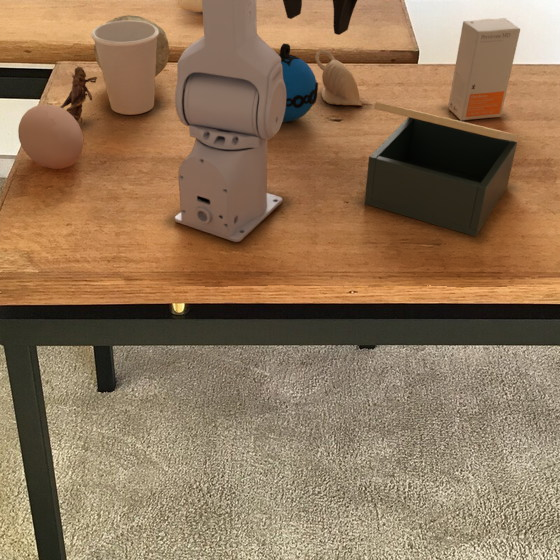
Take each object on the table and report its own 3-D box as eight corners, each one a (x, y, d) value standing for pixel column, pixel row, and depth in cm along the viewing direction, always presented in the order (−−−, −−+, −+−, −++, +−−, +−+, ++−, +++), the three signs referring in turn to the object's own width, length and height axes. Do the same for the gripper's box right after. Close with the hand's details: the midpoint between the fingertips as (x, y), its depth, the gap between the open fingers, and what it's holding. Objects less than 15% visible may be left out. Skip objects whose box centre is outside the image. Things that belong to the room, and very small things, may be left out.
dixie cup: (158, 120, 99) (152, 44, 93) (94, 117, 100) (83, 41, 94) (169, 93, 106) (163, 20, 100) (108, 91, 106) (99, 18, 100)
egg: (11, 151, 92) (39, 188, 85) (5, 97, 88) (34, 131, 81) (66, 142, 95) (97, 176, 89) (63, 89, 91) (95, 121, 85)
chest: (475, 237, 80) (486, 188, 76) (364, 204, 84) (368, 156, 81) (507, 187, 88) (517, 141, 84) (403, 160, 92) (409, 115, 89)
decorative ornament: (336, 111, 103) (338, 73, 100) (309, 87, 109) (311, 50, 106) (363, 107, 104) (366, 68, 101) (335, 83, 110) (337, 46, 107)
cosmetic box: (461, 122, 101) (477, 31, 94) (447, 108, 104) (461, 20, 97) (502, 117, 102) (521, 28, 95) (487, 104, 106) (504, 16, 98)
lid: (496, 138, 73) (498, 131, 73) (374, 108, 78) (375, 101, 78) (517, 141, 84) (519, 135, 84) (409, 115, 89) (410, 109, 89)
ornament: (270, 100, 105) (271, 27, 99) (327, 114, 102) (331, 40, 96) (238, 124, 99) (237, 48, 93) (297, 140, 96) (300, 62, 90)
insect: (66, 133, 100) (44, 124, 95) (77, 68, 100) (56, 56, 95) (96, 137, 99) (76, 128, 94) (107, 71, 99) (88, 59, 94)
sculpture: (107, 93, 109) (83, 37, 100) (107, 75, 111) (83, 19, 102) (177, 79, 108) (159, 22, 100) (176, 62, 110) (158, 5, 102)
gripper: (390, -85, 89) (381, 27, 98) (291, -108, 96) (292, -1, 105) (355, -68, 85) (349, 47, 94) (255, -93, 92) (258, 17, 101)
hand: (317, 23), depth 100 cm, fingers open, 7 cm apart
